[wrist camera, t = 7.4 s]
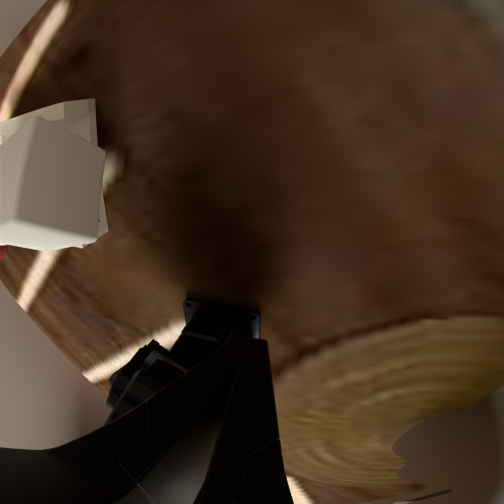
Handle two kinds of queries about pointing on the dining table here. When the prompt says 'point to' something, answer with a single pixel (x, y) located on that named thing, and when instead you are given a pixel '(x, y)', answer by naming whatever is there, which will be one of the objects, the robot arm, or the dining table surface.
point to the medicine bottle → (49, 187)
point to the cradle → (73, 120)
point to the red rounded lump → (2, 250)
